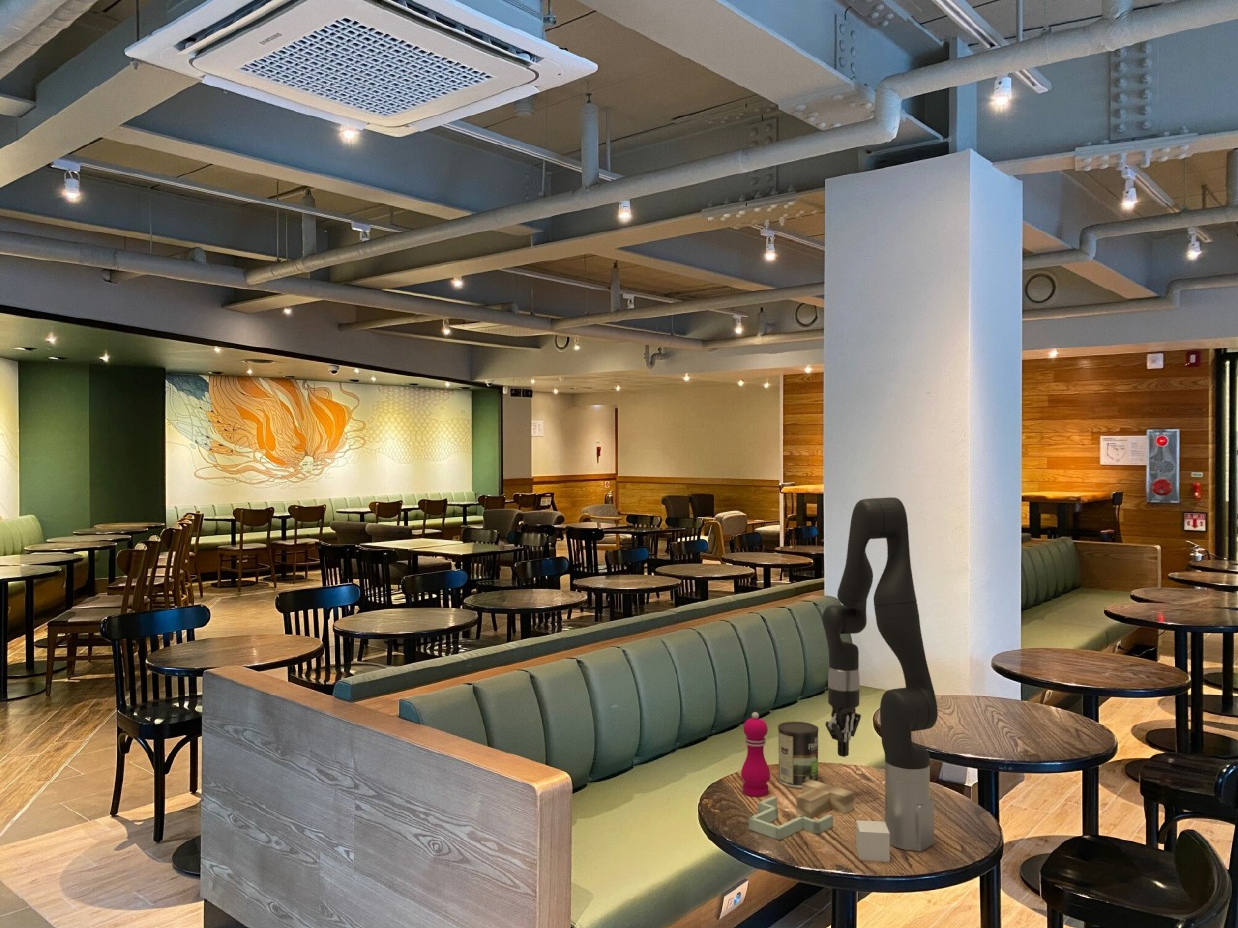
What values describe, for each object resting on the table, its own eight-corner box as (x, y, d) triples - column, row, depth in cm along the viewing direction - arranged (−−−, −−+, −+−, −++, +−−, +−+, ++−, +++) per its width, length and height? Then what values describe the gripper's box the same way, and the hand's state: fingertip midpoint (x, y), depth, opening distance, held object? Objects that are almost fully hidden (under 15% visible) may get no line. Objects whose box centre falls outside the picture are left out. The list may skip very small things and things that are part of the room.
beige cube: (859, 860, 183) (859, 831, 184) (856, 848, 189) (855, 820, 189) (889, 862, 183) (889, 832, 183) (885, 849, 189) (884, 821, 189)
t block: (854, 809, 211) (854, 792, 211) (825, 823, 202) (825, 805, 202) (811, 795, 219) (811, 779, 219) (782, 808, 211) (782, 791, 211)
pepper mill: (767, 798, 217) (767, 717, 217) (738, 795, 220) (738, 714, 220) (772, 788, 224) (772, 709, 224) (744, 785, 226) (743, 707, 226)
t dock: (832, 826, 201) (832, 815, 201) (794, 845, 190) (794, 834, 190) (773, 806, 212) (773, 796, 212) (734, 823, 202) (734, 812, 202)
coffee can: (823, 778, 231) (823, 724, 231) (811, 791, 222) (811, 734, 222) (785, 771, 236) (785, 718, 236) (772, 783, 227) (772, 728, 227)
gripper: (842, 693, 212) (841, 765, 212) (871, 683, 221) (870, 752, 221) (815, 687, 217) (815, 758, 217) (844, 678, 226) (844, 745, 226)
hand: (843, 755), depth 219 cm, fingers closed
